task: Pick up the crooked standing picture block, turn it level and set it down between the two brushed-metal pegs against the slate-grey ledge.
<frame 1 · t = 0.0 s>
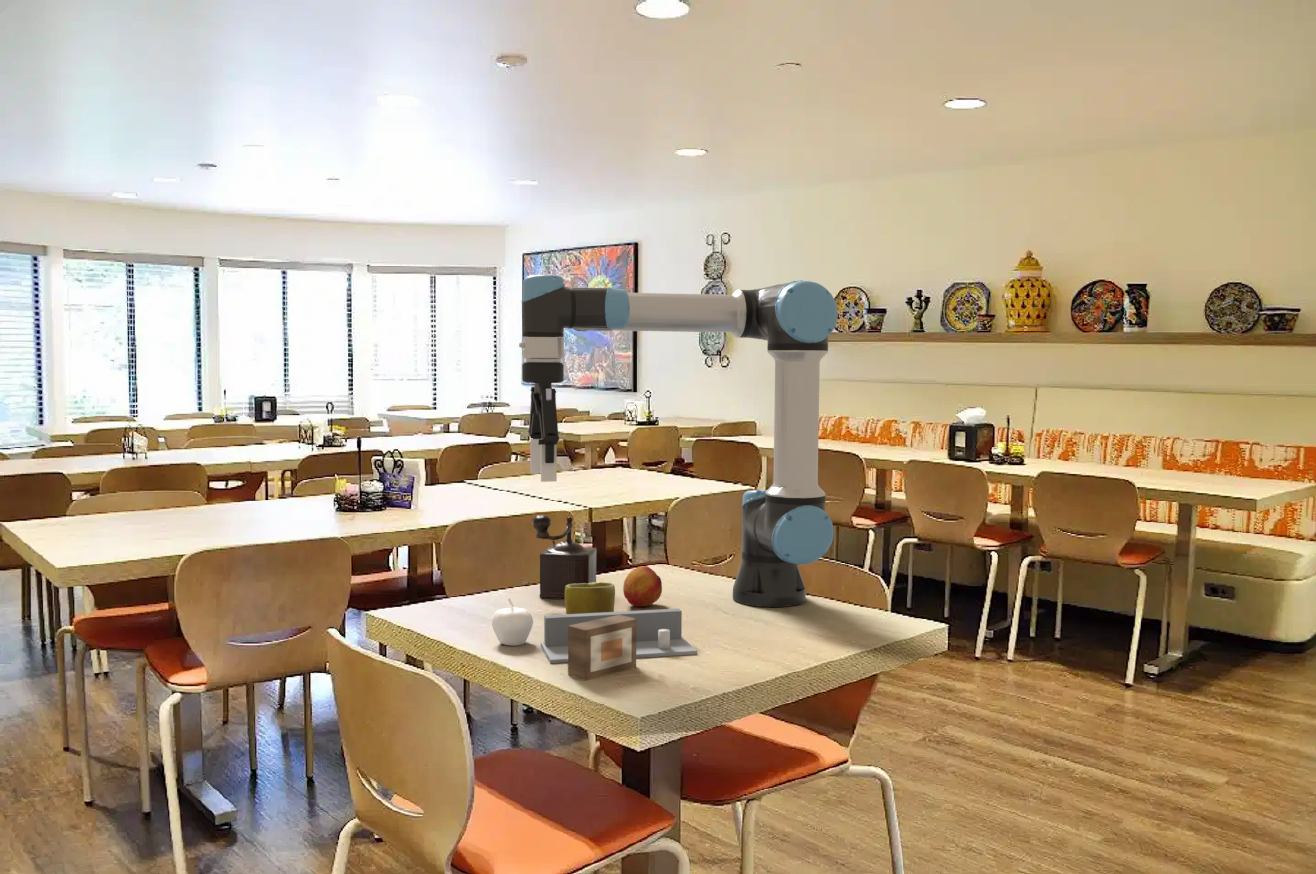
hand: (543, 477, 201), 28 cm above the table, fingers open, 13 cm apart
mug: (591, 626, 205), on the table
ledge: (613, 644, 191), on the table
plain white apple: (512, 644, 192), on the table
picture block: (602, 671, 175), on the table
fruit: (642, 607, 221), on the table
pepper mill: (564, 597, 229), on the table
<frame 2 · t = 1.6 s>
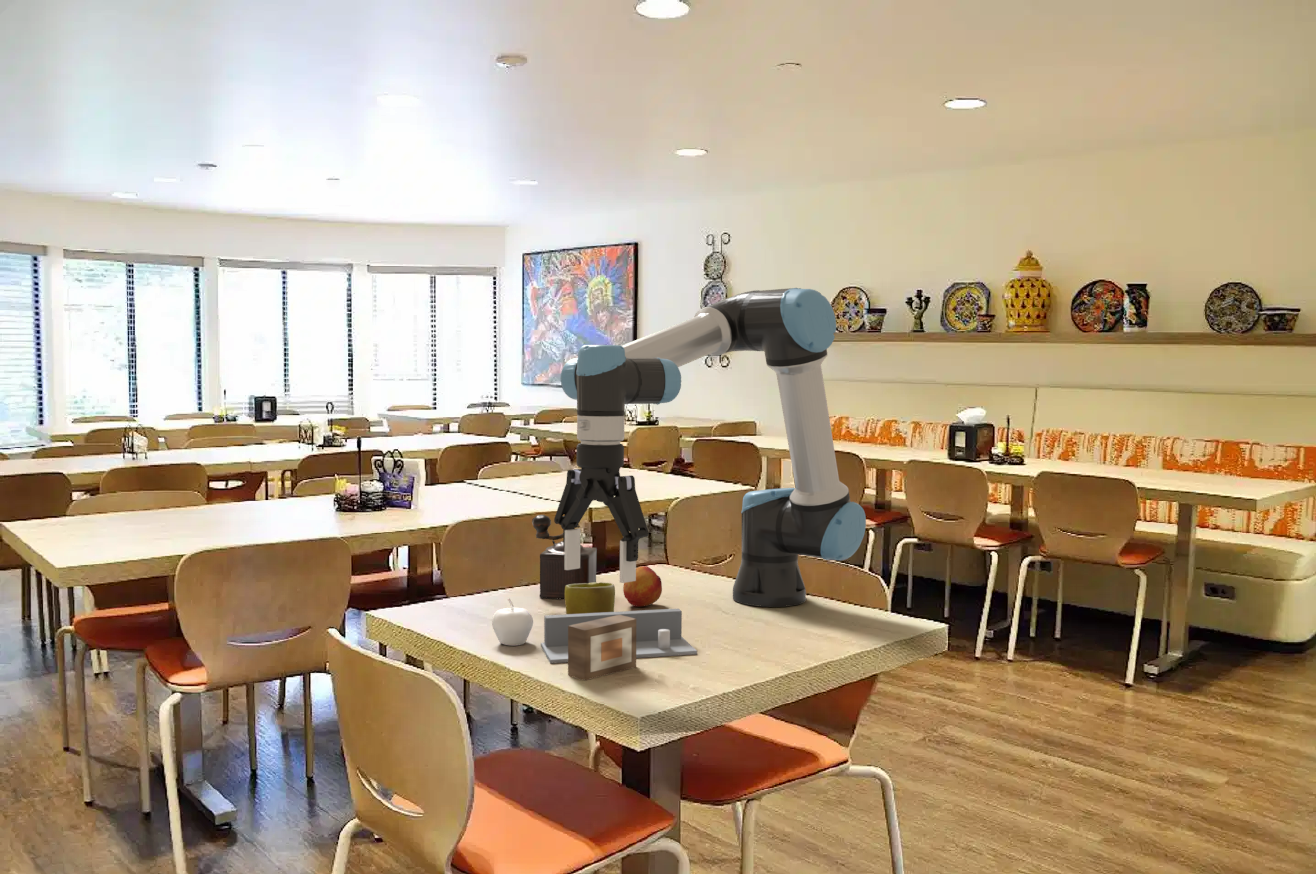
hand: (599, 575, 175), 15 cm above the table, fingers open, 13 cm apart
nothing on the table moved.
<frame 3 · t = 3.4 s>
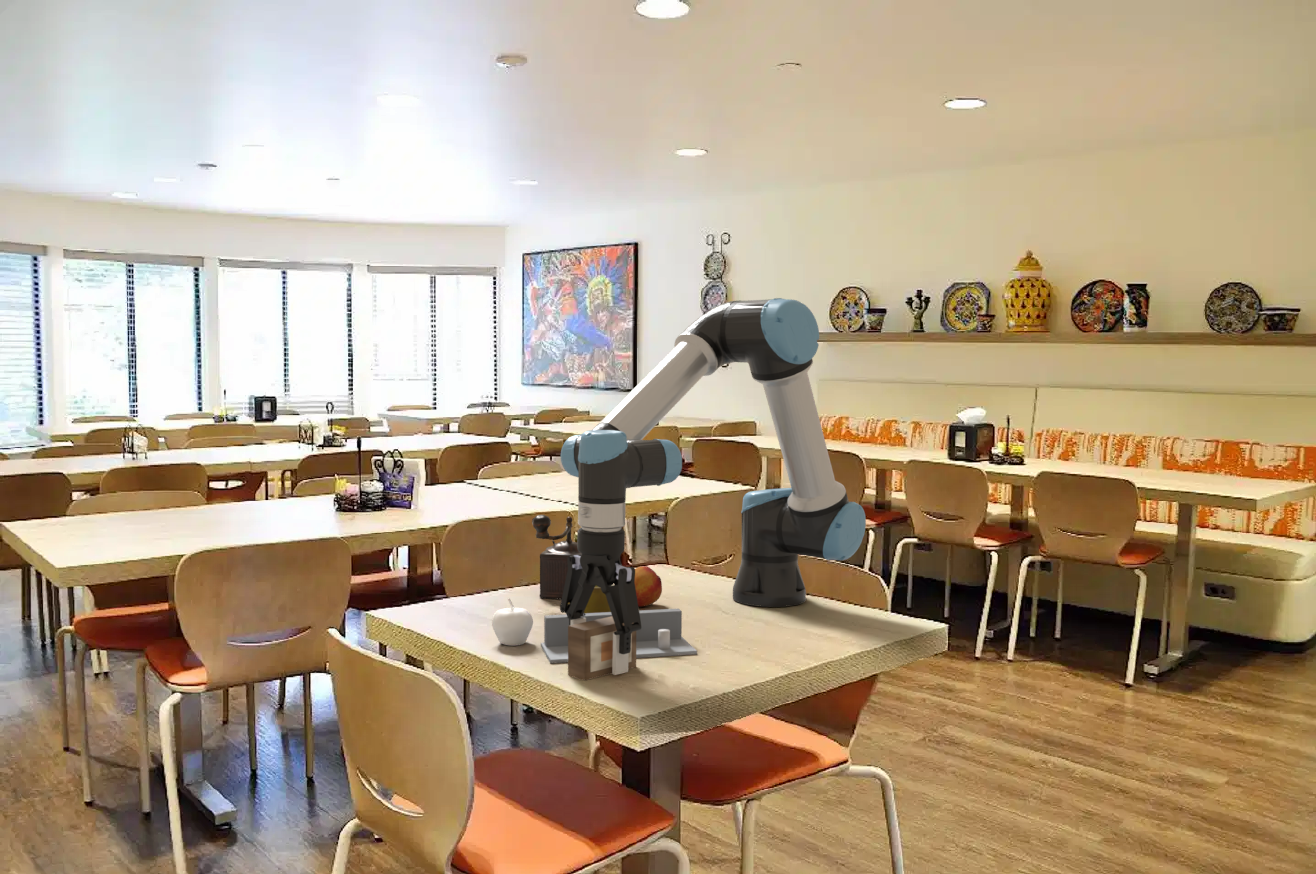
hand: (598, 665, 176), 1 cm above the table, fingers open, 10 cm apart
nothing on the table moved.
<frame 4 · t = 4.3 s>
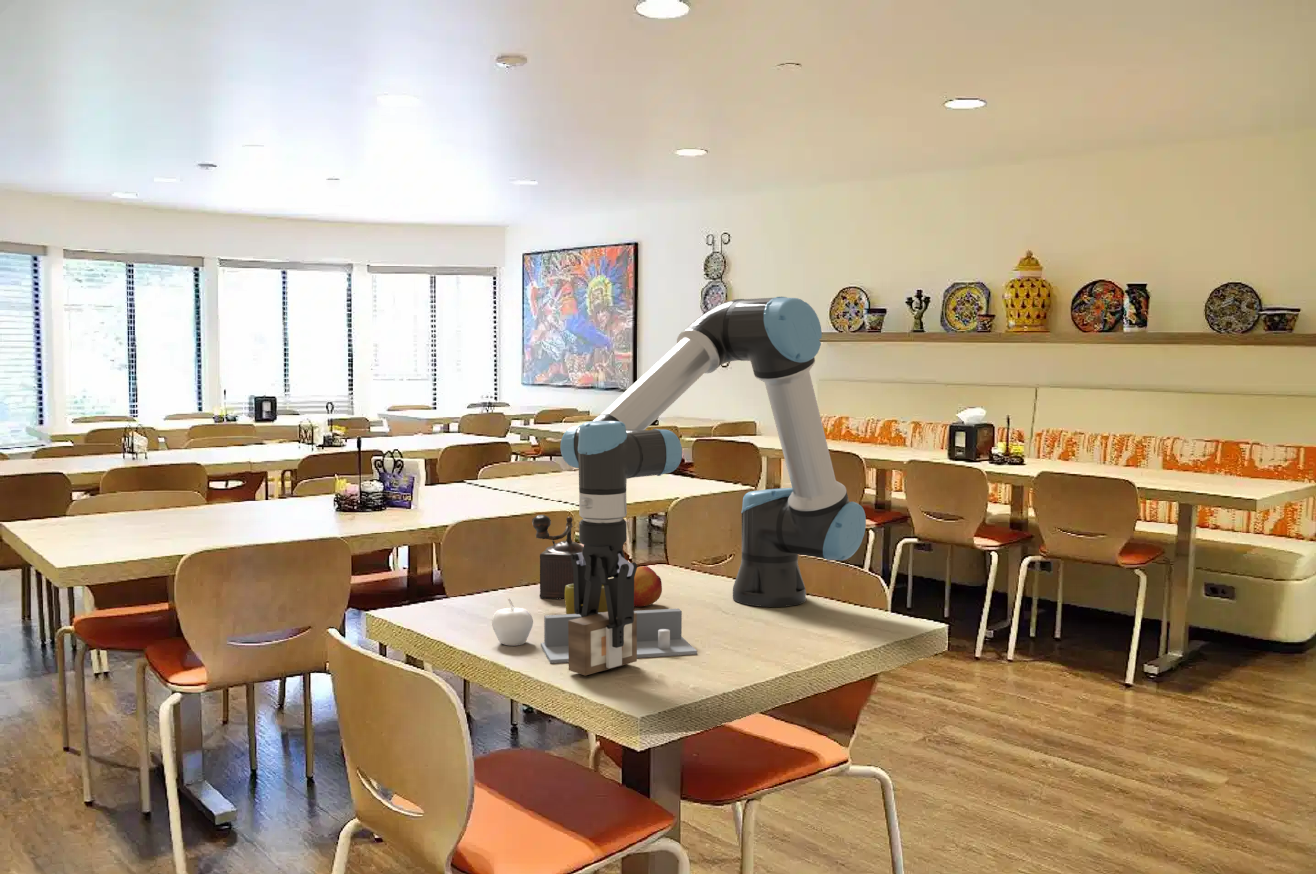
hand: (603, 662, 175), 1 cm above the table, fingers closed on picture block, 4 cm apart
picture block: (603, 665, 176), point 1 cm above the table, touching gripper
everything else where it was.
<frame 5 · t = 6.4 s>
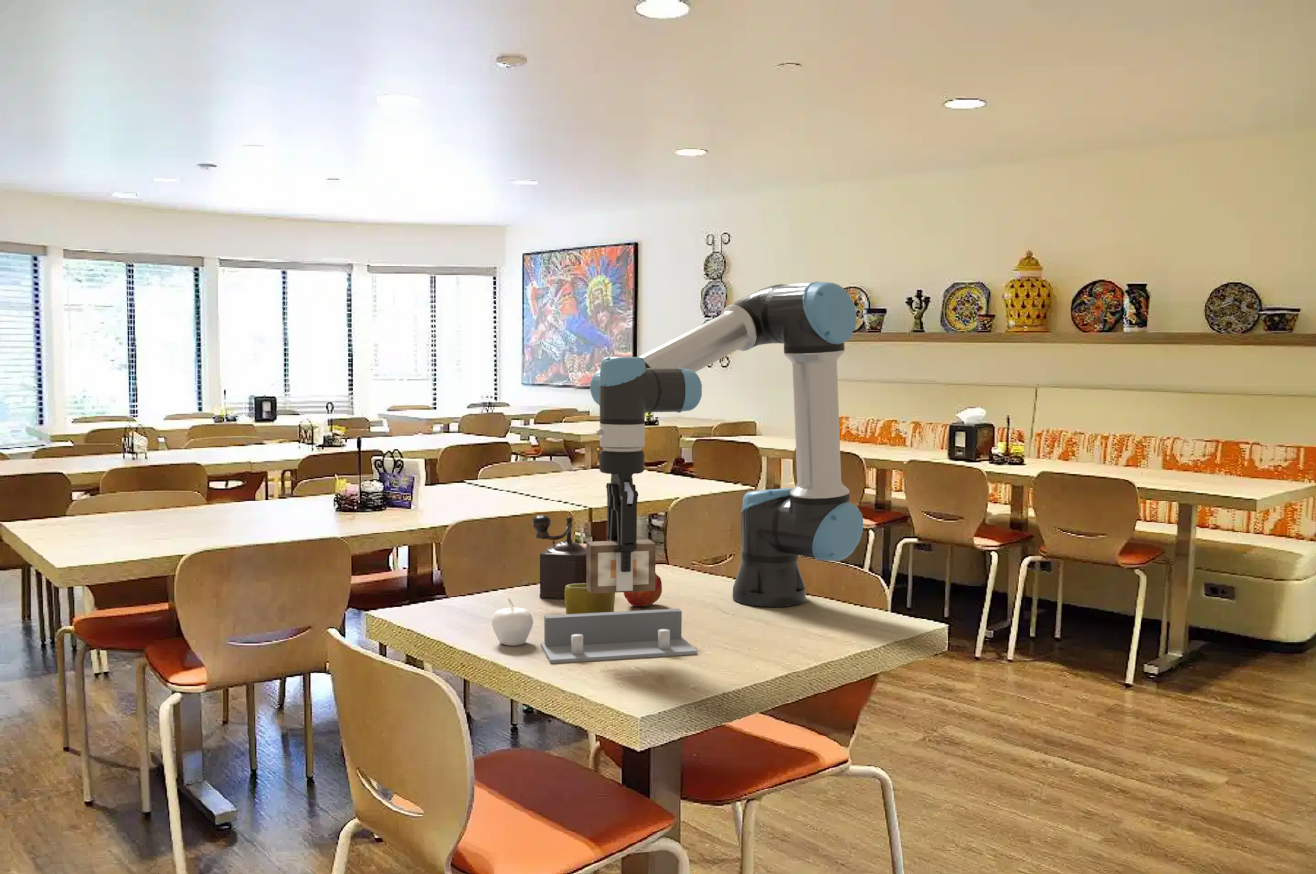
hand: (621, 587, 184), 11 cm above the table, fingers closed on picture block, 4 cm apart
picture block: (620, 589, 184), point 11 cm above the table, touching gripper
everything else where it was.
when the fingers open (2 cm above the table, at t = 8.2 s): picture block stays where it is, resting on ledge.
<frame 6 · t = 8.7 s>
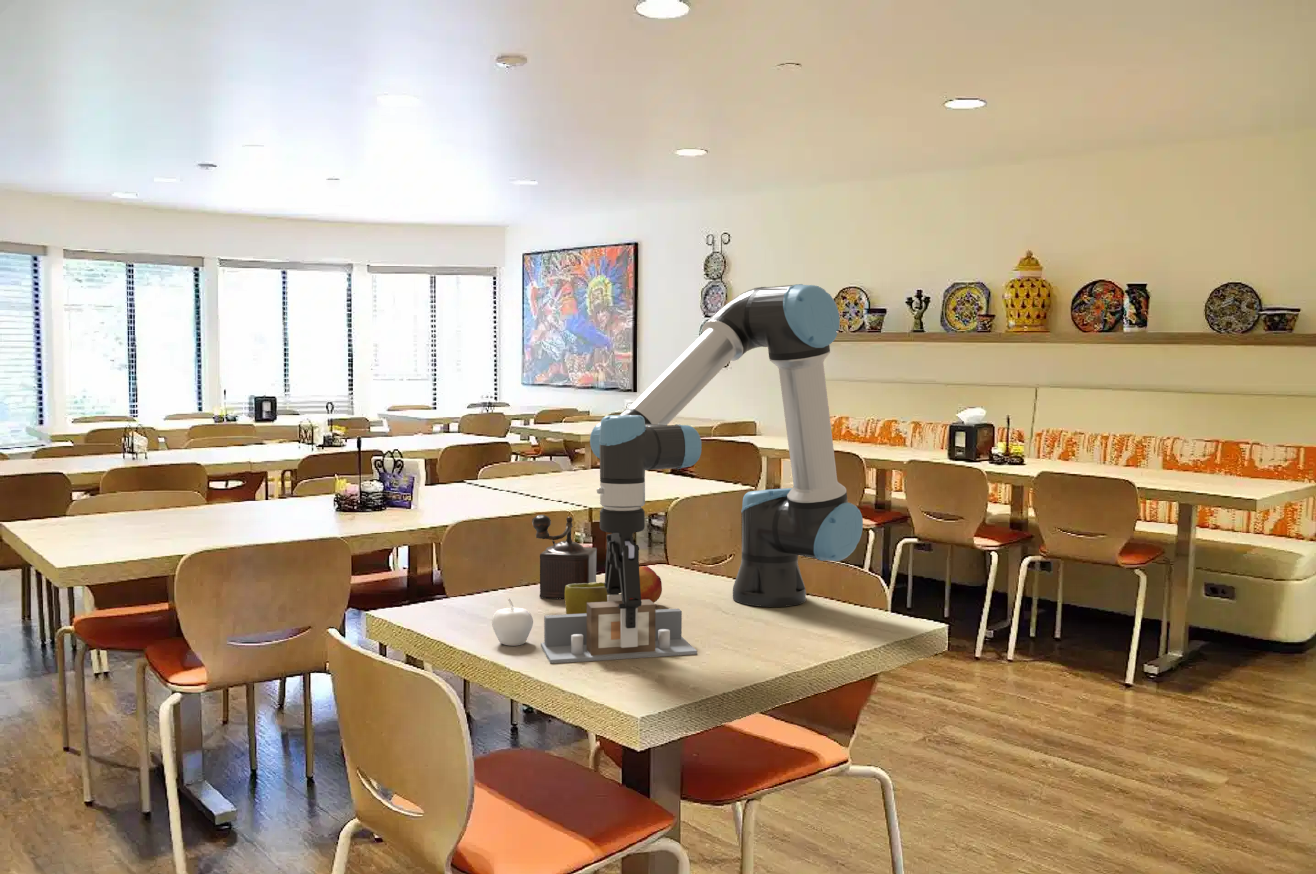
hand: (622, 639, 184), 3 cm above the table, fingers open, 10 cm apart
picture block: (620, 650, 185), point 1 cm above the table, touching ledge
everything else where it was.
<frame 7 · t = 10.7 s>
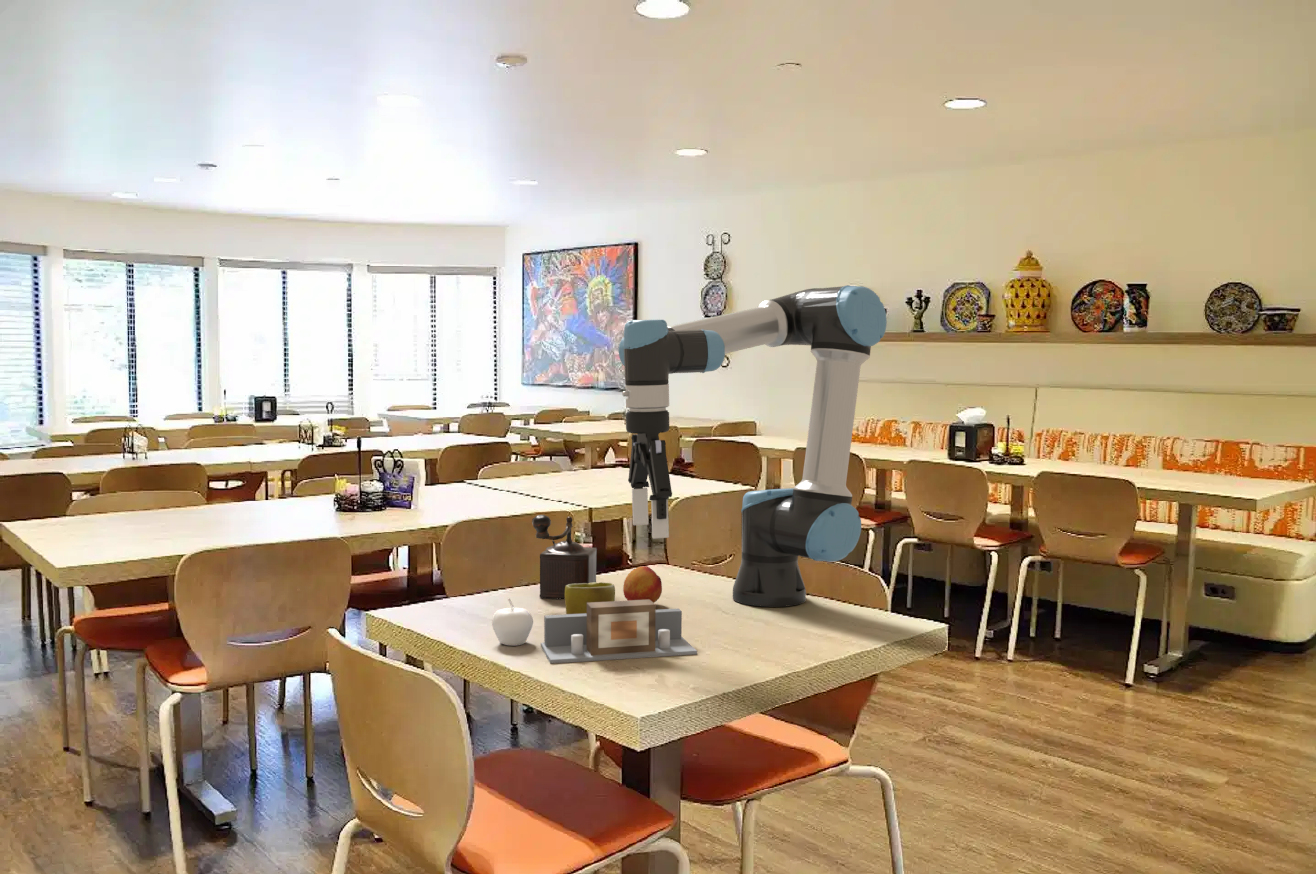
hand: (650, 531, 191), 20 cm above the table, fingers open, 13 cm apart
nothing on the table moved.
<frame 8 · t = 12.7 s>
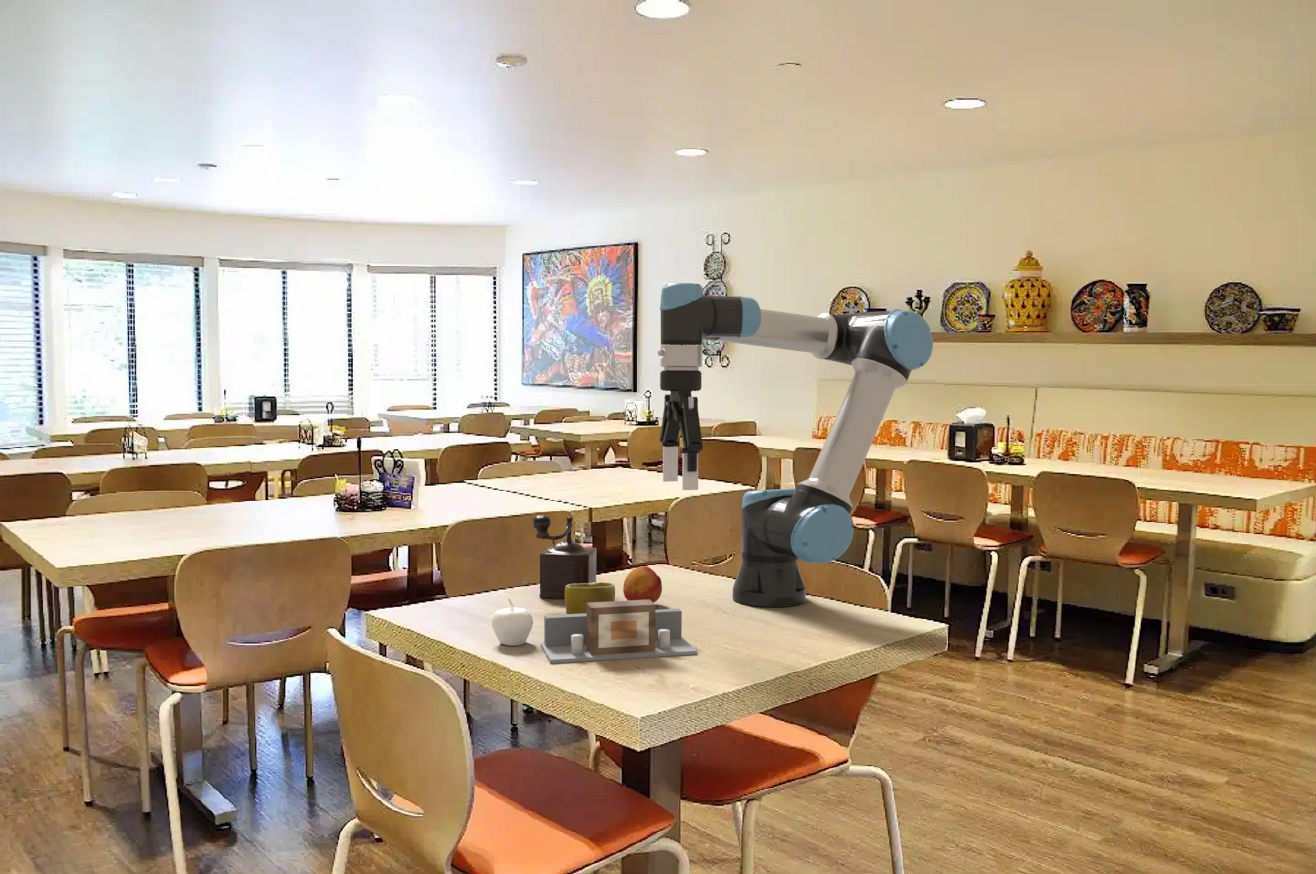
hand: (679, 485, 200), 27 cm above the table, fingers open, 13 cm apart
nothing on the table moved.
at the end: picture block 0.2 cm from the target spot on the ledge, point 0.6 cm above the ledge's base; picture block tilted 0°; the gripper is holding nothing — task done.
